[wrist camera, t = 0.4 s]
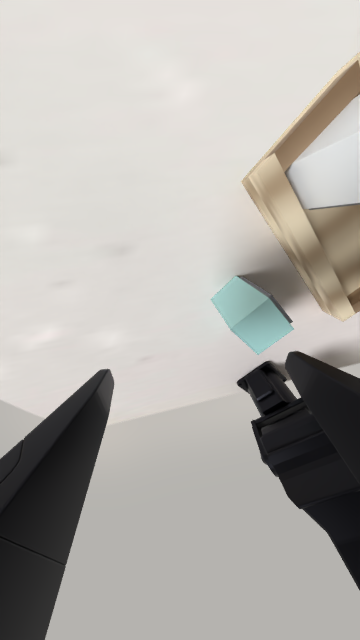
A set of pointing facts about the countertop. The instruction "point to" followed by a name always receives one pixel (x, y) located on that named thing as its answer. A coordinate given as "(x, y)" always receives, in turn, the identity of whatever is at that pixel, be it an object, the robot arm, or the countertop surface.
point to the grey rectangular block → (330, 164)
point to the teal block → (252, 314)
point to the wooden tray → (320, 224)
